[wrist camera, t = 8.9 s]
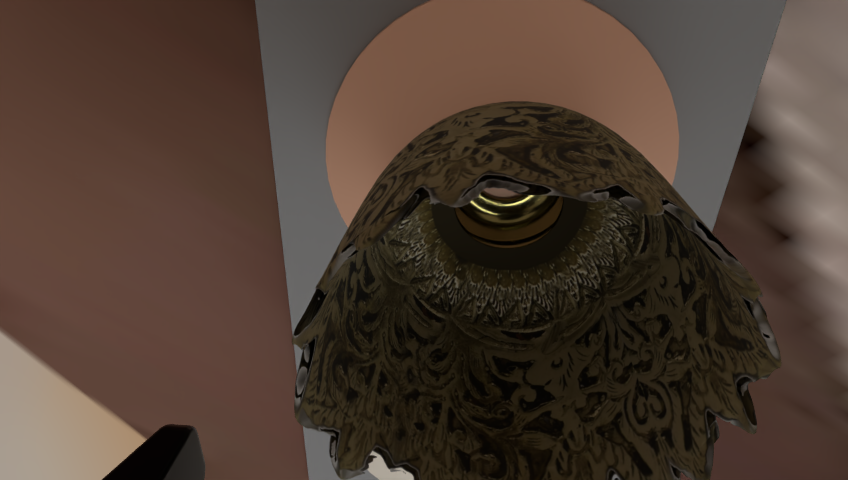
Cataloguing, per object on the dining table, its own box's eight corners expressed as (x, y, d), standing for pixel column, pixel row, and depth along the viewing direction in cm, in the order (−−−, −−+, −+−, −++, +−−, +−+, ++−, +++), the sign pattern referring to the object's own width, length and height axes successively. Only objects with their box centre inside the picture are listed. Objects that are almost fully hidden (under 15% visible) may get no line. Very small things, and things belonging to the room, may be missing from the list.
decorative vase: (716, 161, 16) (886, 402, 10) (509, 325, 20) (528, 589, 13) (499, -49, 14) (524, 76, 7) (307, 178, 17) (202, 407, 11)
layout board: (781, -63, 15) (1009, 25, 8) (610, 501, 26) (653, 716, 20) (261, -83, 15) (112, -13, 9) (318, 480, 27) (270, 683, 20)
